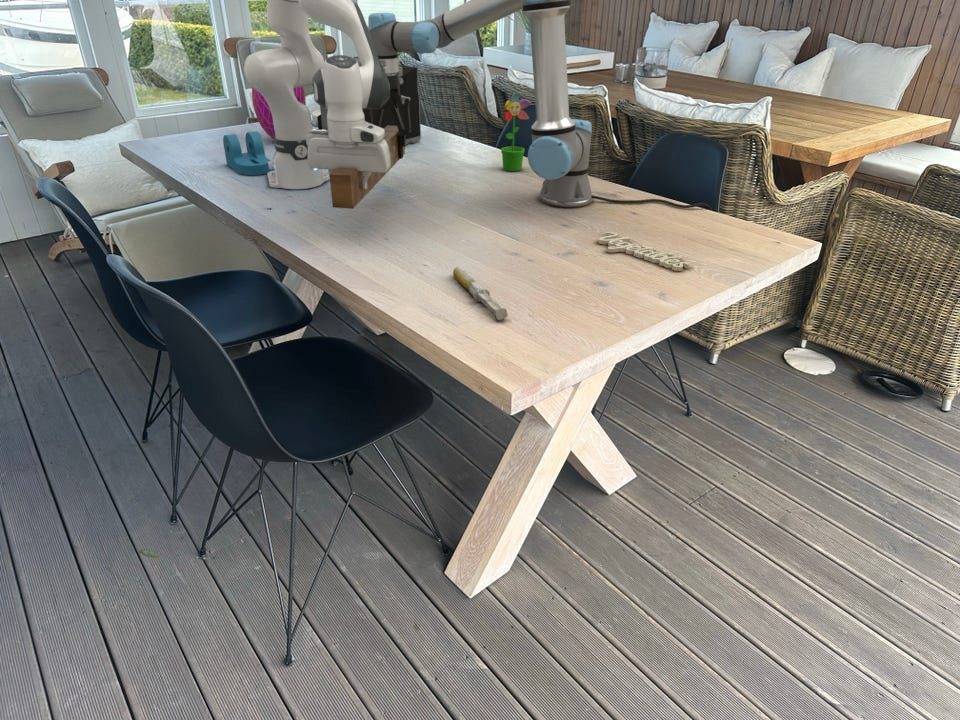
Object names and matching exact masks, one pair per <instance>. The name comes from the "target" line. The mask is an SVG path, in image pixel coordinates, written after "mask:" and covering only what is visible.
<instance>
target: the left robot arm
mask: <svg viewBox="0 0 960 720" xmlns="http://www.w3.org/2000/svg"><path fill="white" fill-rule="evenodd" d="M309 18H310V19H311V20H313V21H315V22H316V23H318V24H321V25H325V26H327V27H330V28H334V29H336V30H338V31H340V32H342V33H344V34H346V35H347V36H348V37H349V38H350V39H351V41H352V43H353V46H354V49H355V50H356V54H357V56H358V57H359V60H360V62H361V65H362V66H360V67H359V65H358V62H357V60H356V59H354V57H352V56H349V55H342V54H336V55H331V56H329V57H327V58H326V59H324V57H323V55H322V54H321V52H320V51H319V50H318V49H317V48H316V47H315V45H314V44H313V41H312V38H311V34H310V26H309V25H310V24H309ZM266 21H267V25H268V26H269V28H270V29H271V30H272V31H273V32H275V33H276V34H278V35H279V39H280V47H276V48H270V49H269V48H268V49H262V50H259V51H256V52H253V53H251V54H249V55H247V57H246V59H245V60H244V65H243V70H244V76H245V78H246V81H247V82H248V84H249V85H250V86H251V88H252V87H253V88H254V89H255V90H257V91H258V92H259V93H261V95H262V96H263V97H264V98H265V100H266V102H267V103H268V105H269V108H270V110H271V114H272V118H273V124H274V130H275V139H274V141H273V143H274V150H275V152H274V154H273V156H272V160H270V161H268V167H269V169H271V171H270V172H268V173H266V174H267V180H268V185H269V188H273V189H274V188H275V189H278V188H279V189H286V190H305V189H311V188H316V187H319V186H321V185H322V184H324V183H325V182H327V181H328V182H329V181H330V175H329V174H330V173H331V172H332V171H333V170H335V169H336V168H352V169H357V171H362V172H363V176H365V178H364V180H361V181H360V182H359V183H360V189H367V181H368V179H369V177H370V175H371V172H379V173H385V172H387V171H388V170H389V168H390V167H391V159H390V152H389V147H388V144H387V142H386V141H385V140H384V139H383V138H384V136H385V130H384V129H383V128H381V127H378V126H375V125H373V124H370V123H368V122H366V121H365V117H364V113H363V109H362V108H366V109H380V108H381V107H382V106H383V105H384V104H385V103H386V102H387V101H388V99H389V97H390V85H389V81H388V78H387V75H386V73H385V70H384V68H383V66H382V65H381V62H380V60H379V57H378V55H377V52H376V49H375V46H374V44H373V41H372V38H371V35H370V32H369V27H368V24H367V22H366V19H365V17H364V15H363V12H362V10H361V8H360V6H359V4H358V3H357V2H355V1H354V0H266ZM312 84H313V86H312ZM309 86H312V87H314V88H313V100H314V102H315V103H316V104H317V105H319V107H320V106H321V107H323V108H324V109H325V108H326V109H328V112H327V125H328V130H327V129H320V130H318V129H317V128H313V122H312V113H311V111H310V109H309V108H308V106H305V105H304V104H302V103H300V102H298V100H297V99H296V97H295V94H294V88H297V87H309ZM324 170H328V171H327V172H328V175H327V174H325V171H324ZM389 171H390V170H389ZM389 171H388V172H389ZM388 172H387V173H388Z"/></svg>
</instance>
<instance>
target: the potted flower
mask: <svg viewBox="0 0 960 720" xmlns="http://www.w3.org/2000/svg"><path fill="white" fill-rule="evenodd" d="M530 105H532V102H531V101H530V100H528V99H526V98H525V99H524V98H523V99H520V93H519V92H518V91H516V92H514V93H513V94H512V95H511V97H510V100H507V101H506V102H505V103H504V108H503V109H504V110H505V113H504V119H505V122H507V123H509V122H510V121H511V120H512V132H508V133H506V134H505V138H506V139H508V140H512V141H511V146H504V147H501V149H500V151H501V157H502V169H503V170H504V171H507V172H519V171H521V170H522V167H523V161H524V154H525V147H522V146H515V133H517V132H519V130H520V127H518V126H517V127H516V118H518V119H519V120H522V121H526V120H529V119H530V117H529V115H528V113H527V112H526V111H524V109H526V108H527V107H529V106H530Z"/></svg>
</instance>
